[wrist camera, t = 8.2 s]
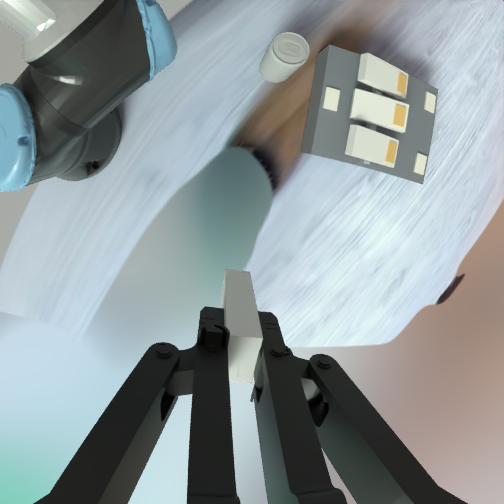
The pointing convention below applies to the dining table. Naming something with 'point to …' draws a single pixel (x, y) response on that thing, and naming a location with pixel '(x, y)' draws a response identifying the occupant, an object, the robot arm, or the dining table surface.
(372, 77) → the plate
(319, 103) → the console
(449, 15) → the dining table surface
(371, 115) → the rocker
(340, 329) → the dining table surface
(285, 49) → the beverage can
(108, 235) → the dining table surface
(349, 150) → the rocker
